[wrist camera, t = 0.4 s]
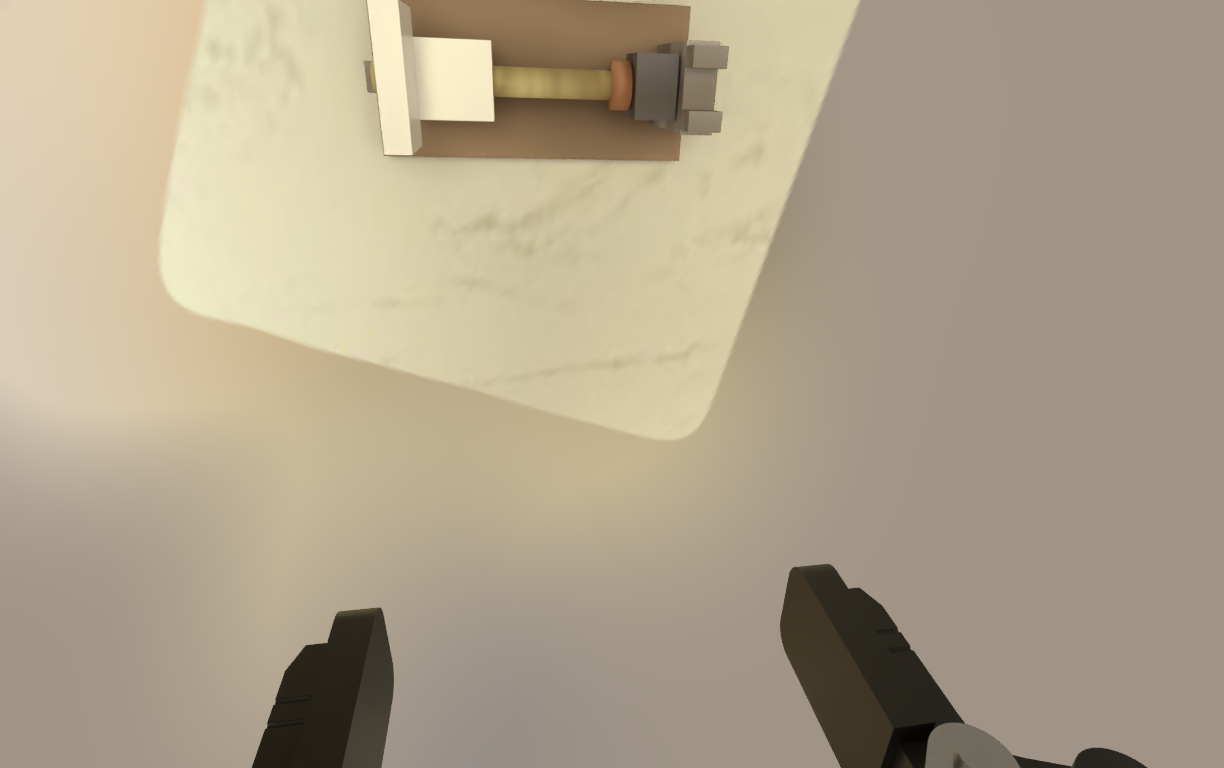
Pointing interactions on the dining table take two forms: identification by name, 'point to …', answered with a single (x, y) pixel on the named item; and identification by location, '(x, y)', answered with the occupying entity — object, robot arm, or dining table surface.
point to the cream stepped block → (425, 77)
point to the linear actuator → (576, 79)
